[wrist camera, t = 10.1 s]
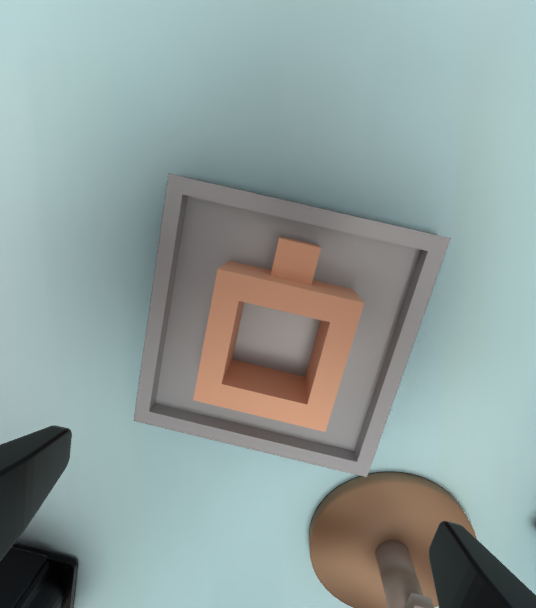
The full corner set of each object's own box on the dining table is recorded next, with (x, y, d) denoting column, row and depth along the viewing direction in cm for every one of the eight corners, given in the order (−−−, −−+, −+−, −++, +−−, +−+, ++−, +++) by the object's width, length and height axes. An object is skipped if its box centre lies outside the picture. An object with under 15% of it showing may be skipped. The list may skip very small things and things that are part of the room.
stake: (438, 614, 24) (476, 721, 19) (293, 578, 24) (292, 674, 19) (494, 494, 21) (555, 580, 16) (332, 455, 22) (343, 528, 16)
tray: (361, 459, 21) (366, 477, 20) (144, 406, 22) (133, 420, 20) (438, 236, 18) (450, 238, 17) (178, 176, 18) (168, 173, 17)
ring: (321, 400, 20) (325, 432, 17) (207, 373, 20) (192, 400, 17) (363, 255, 18) (376, 263, 15) (236, 225, 18) (225, 227, 15)
